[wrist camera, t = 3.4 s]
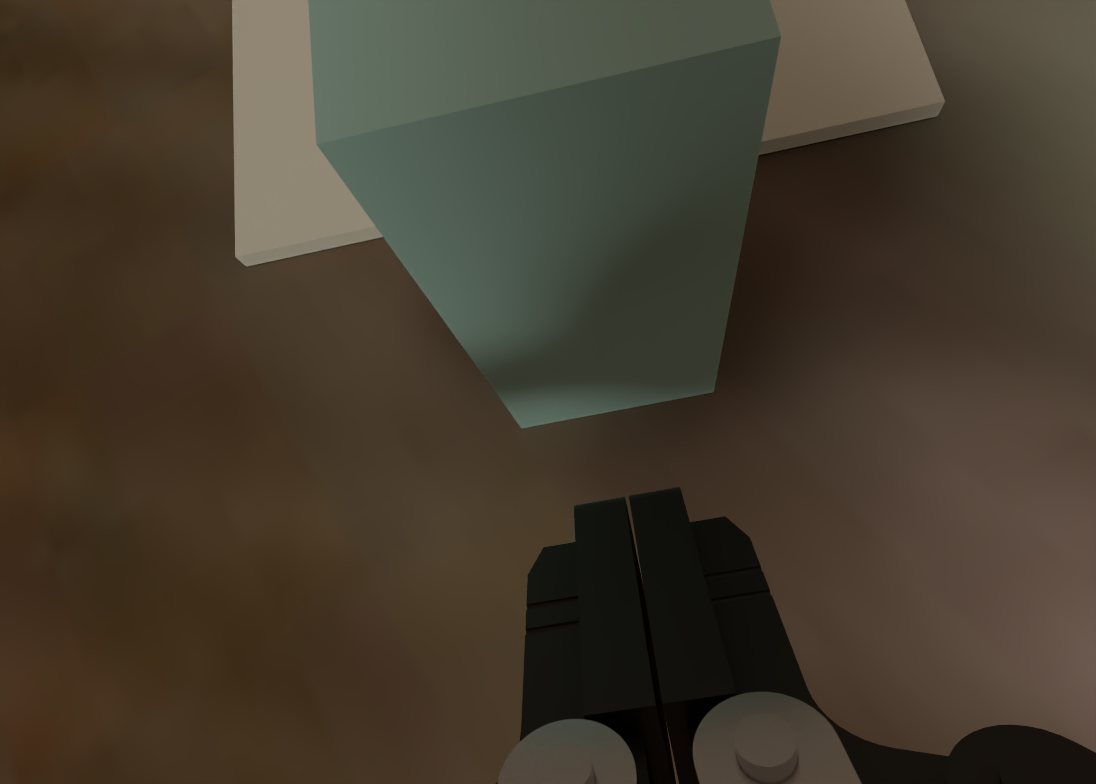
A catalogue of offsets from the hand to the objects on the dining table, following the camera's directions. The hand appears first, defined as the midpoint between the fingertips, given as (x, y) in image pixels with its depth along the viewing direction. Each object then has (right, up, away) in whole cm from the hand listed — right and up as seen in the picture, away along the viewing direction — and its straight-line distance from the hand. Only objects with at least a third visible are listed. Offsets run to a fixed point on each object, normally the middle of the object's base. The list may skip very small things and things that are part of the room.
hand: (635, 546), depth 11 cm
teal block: (0, +4, +9) cm, 10 cm away
